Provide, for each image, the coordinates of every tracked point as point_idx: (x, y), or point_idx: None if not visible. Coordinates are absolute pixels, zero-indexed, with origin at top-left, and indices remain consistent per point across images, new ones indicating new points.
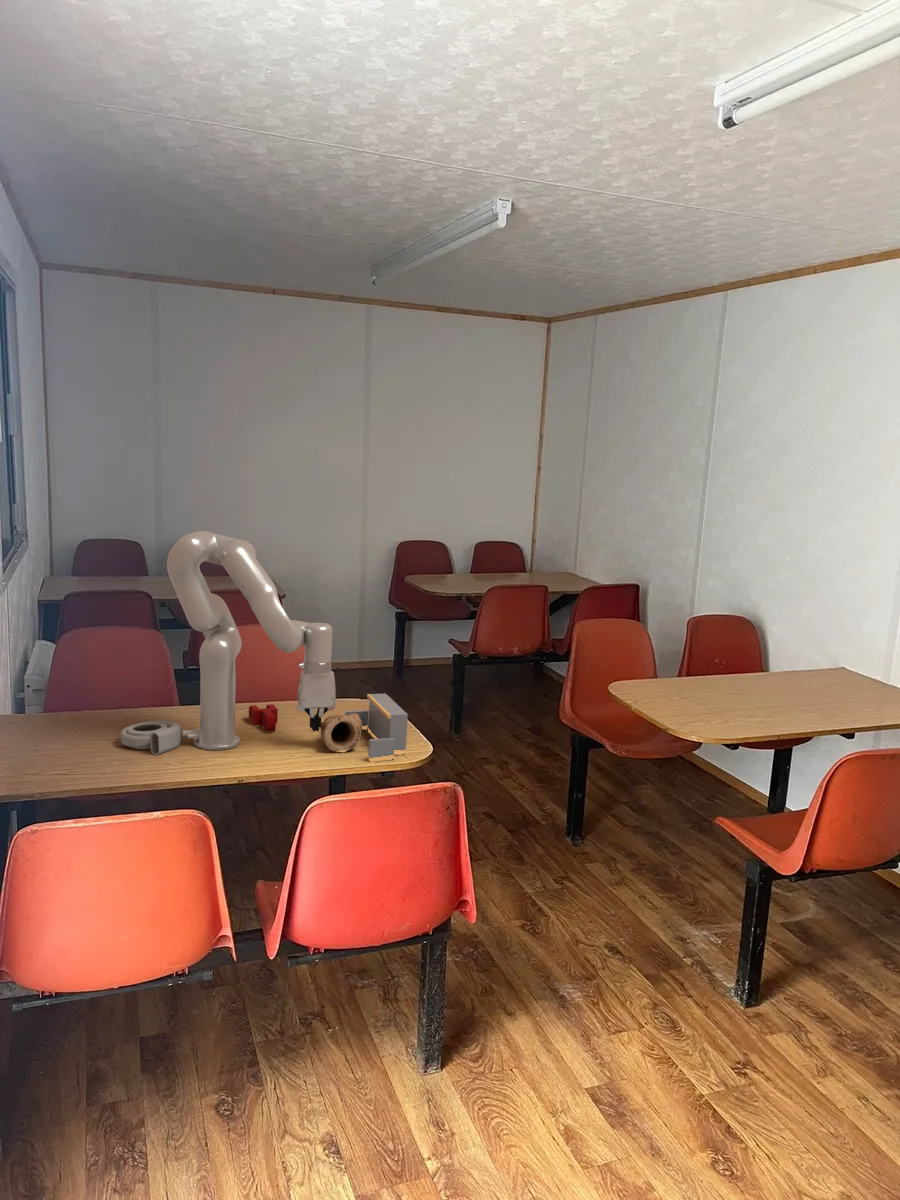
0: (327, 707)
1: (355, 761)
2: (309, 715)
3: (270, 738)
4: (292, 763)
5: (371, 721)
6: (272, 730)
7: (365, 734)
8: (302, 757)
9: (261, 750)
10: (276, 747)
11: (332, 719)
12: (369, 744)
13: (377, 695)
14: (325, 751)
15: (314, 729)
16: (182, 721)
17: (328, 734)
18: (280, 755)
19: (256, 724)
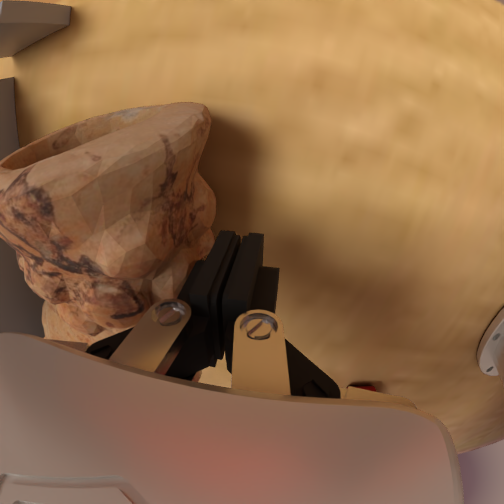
0: (55, 342)
1: (115, 2)
2: (287, 342)
3: (391, 344)
4: (427, 25)
5: (28, 310)
6: (357, 387)
7: None
8: (362, 81)
9: (483, 238)
10: (423, 256)
11: (69, 192)
12: (18, 14)
13: None
14: (216, 142)
15: (255, 238)
16: (471, 425)
17: (167, 115)
18: (451, 150)
19: None
